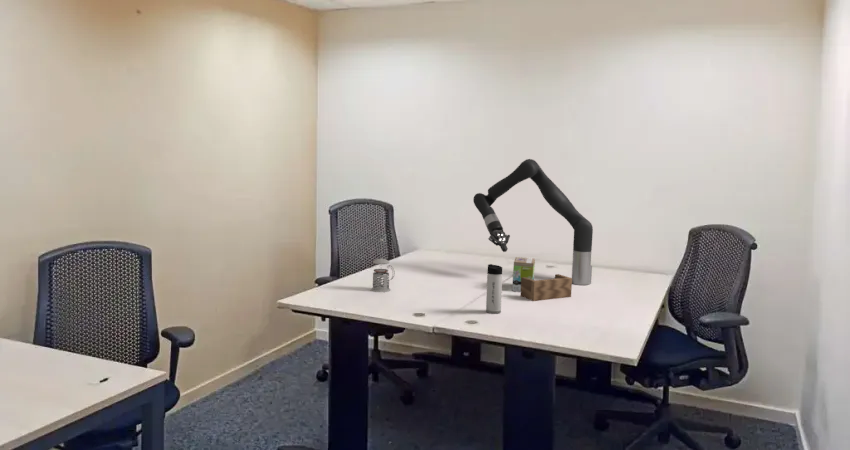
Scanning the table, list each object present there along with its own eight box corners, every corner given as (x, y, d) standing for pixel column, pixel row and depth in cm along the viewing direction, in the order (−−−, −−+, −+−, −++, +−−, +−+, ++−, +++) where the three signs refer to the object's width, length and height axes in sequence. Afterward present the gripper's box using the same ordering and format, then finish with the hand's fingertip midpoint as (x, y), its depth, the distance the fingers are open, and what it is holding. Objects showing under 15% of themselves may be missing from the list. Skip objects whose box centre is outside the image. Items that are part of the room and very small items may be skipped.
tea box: (532, 292, 308) (534, 262, 306) (511, 291, 310) (513, 261, 308) (533, 286, 323) (535, 257, 321) (513, 285, 325) (515, 256, 323)
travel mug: (492, 309, 275) (494, 263, 272) (503, 312, 270) (505, 265, 267) (482, 311, 271) (484, 264, 269) (493, 314, 266) (495, 267, 263)
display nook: (557, 292, 310) (558, 274, 309) (571, 296, 301) (572, 278, 300) (520, 296, 300) (521, 277, 299) (533, 301, 291) (534, 281, 290)
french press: (375, 287, 313) (376, 236, 310) (397, 289, 309) (398, 238, 306) (367, 291, 304) (367, 239, 300) (389, 293, 300) (390, 240, 297)
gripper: (485, 220, 332) (497, 247, 323) (506, 219, 339) (519, 246, 329) (479, 229, 338) (491, 255, 328) (500, 228, 344) (512, 254, 335)
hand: (505, 250), depth 329 cm, fingers closed
